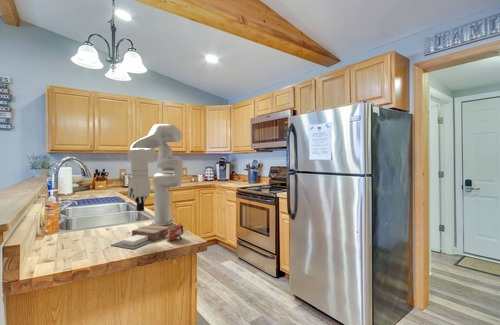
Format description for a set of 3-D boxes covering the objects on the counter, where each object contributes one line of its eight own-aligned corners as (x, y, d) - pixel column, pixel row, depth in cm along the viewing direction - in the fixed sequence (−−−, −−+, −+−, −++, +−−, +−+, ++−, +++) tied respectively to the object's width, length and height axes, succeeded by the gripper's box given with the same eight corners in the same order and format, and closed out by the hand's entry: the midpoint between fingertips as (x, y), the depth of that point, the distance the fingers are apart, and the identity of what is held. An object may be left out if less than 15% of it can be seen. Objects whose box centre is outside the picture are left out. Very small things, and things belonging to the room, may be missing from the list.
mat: (131, 238, 130) (131, 237, 130) (152, 241, 125) (152, 241, 125) (110, 245, 119) (110, 244, 119) (133, 249, 114) (133, 248, 114)
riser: (150, 231, 142) (150, 224, 142) (171, 234, 137) (171, 226, 137) (132, 238, 130) (131, 230, 130) (153, 241, 125) (153, 233, 125)
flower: (187, 232, 134) (178, 220, 134) (189, 233, 126) (179, 221, 125) (172, 245, 130) (162, 233, 130) (173, 247, 122) (162, 234, 121)
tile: (137, 238, 129) (137, 234, 129) (148, 240, 126) (148, 236, 126) (122, 244, 120) (122, 239, 120) (133, 245, 118) (133, 241, 118)
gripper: (145, 172, 134) (146, 207, 135) (121, 174, 121) (122, 213, 121) (156, 172, 131) (157, 208, 132) (133, 175, 118) (134, 214, 118)
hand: (140, 210), depth 127 cm, fingers closed
